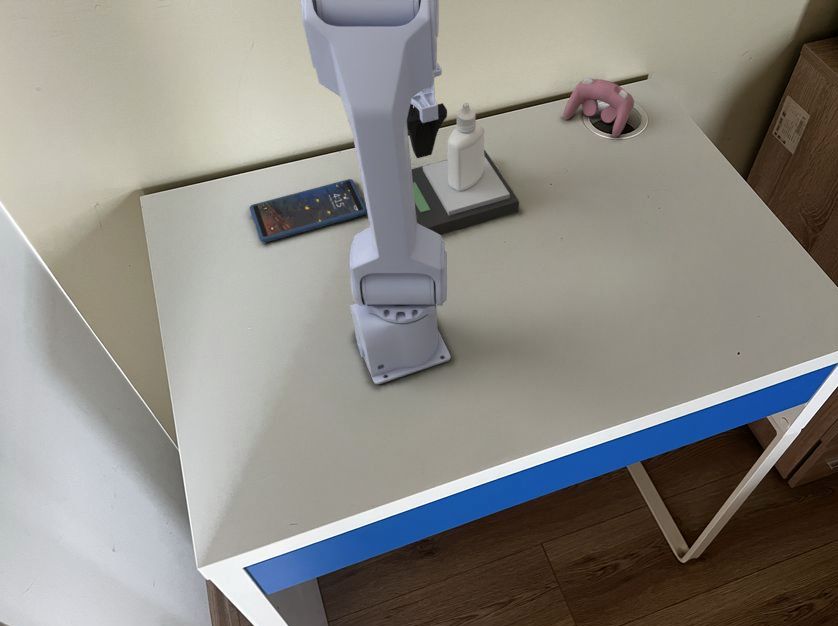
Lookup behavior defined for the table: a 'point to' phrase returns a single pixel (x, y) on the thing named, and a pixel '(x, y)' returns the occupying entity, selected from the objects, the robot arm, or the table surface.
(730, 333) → the table surface
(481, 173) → the eye dropper bottle
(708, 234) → the table surface
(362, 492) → the table surface
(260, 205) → the smartphone
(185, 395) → the table surface
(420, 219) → the scale
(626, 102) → the video game controller
